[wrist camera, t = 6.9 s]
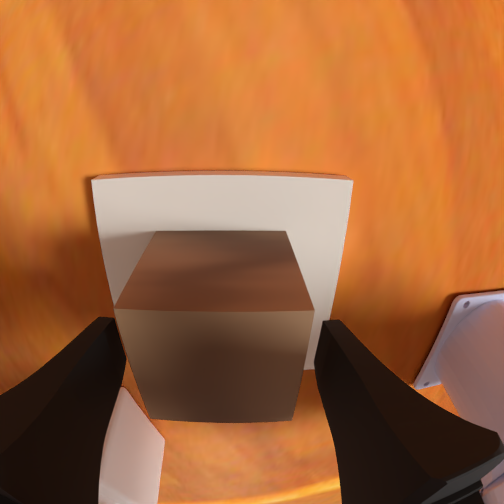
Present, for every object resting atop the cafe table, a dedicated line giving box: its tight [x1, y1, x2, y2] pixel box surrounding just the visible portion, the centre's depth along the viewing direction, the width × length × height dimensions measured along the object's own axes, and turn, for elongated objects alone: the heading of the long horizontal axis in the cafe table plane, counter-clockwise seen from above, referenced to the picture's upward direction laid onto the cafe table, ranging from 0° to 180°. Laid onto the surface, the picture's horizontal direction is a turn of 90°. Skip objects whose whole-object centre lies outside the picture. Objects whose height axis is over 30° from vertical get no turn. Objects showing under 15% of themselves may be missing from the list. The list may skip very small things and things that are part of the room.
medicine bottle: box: [98, 387, 165, 504], centre depth 13 cm, size 7×7×12 cm
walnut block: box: [113, 230, 315, 423], centre depth 11 cm, size 5×5×5 cm
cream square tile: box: [91, 171, 353, 370], centre depth 13 cm, size 10×10×1 cm
